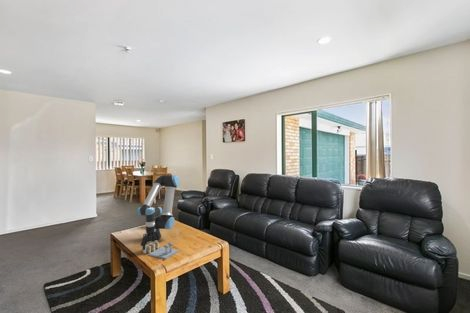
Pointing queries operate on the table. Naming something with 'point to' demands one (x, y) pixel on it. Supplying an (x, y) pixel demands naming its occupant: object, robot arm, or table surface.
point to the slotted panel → (151, 246)
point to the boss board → (164, 251)
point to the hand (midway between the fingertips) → (150, 250)
